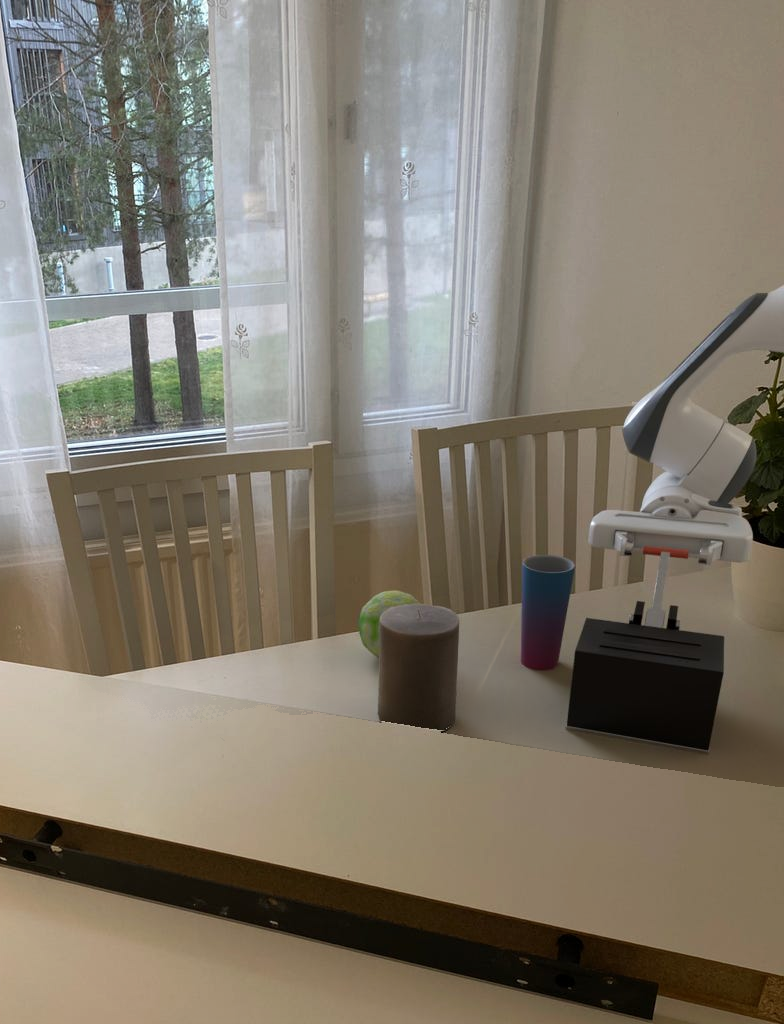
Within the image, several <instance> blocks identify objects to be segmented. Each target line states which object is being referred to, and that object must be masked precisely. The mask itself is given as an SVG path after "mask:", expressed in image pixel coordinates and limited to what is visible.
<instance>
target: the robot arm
mask: <svg viewBox="0 0 784 1024" xmlns="http://www.w3.org/2000/svg"><path fill="white" fill-rule="evenodd" d="M750 351H768V352H775V353H783V354H784V284H783V285H781V286H780V287H778V288H776V289H774V290H771V291H769V292H756V293H754V294H752V295H751V296H749V297H748V298H746V299H745V300H744V301H743V302H741V303H740V304H739V305H737V306H736V307H735V308H734V309H733V310H732V311H731V312H730V313H729V314H728V315H726V317H725V318H724V319H722V320H721V322H720V323H718V325H716V326H715V328H713V330H711V331H710V333H708V335H707V336H706V337H705V338H704V339H703V340H702V341H701V342H700V343H699V344H698V345H697V346H696V347H695V348H694V349H693V350H692V351H691V352H690V353H689V354H688V355H687V356H686V357H684V359H683V360H682V361H681V362H680V363H679V365H678V366H677V367H675V368H674V370H672V371H671V372H670V373H669V374H668V375H667V377H666V378H664V379H663V381H661V382H660V383H659V384H658V385H657V386H656V387H655V388H653V390H651V391H650V392H648V393H647V394H646V395H645V396H643V397H642V398H640V400H639V401H638V402H637V403H636V404H634V406H633V407H632V408H631V410H630V411H629V413H628V414H627V417H626V418H625V420H624V423H623V426H622V428H621V431H622V437H623V440H624V441H623V442H624V444H625V447H626V450H627V451H628V453H629V454H631V455H633V456H635V457H637V458H638V459H639V458H640V459H641V460H644V461H646V462H647V463H652V464H654V465H655V466H657V467H659V468H660V469H662V470H664V472H662V473H661V474H660V475H658V476H657V477H656V478H655V479H654V480H653V481H652V482H651V484H650V485H649V486H648V488H647V490H646V491H645V494H644V496H643V499H642V502H641V503H642V504H641V507H640V509H639V511H632V510H631V511H630V510H620V509H618V510H617V509H604V510H602V511H600V512H599V513H597V514H596V515H594V516H593V517H592V519H591V522H590V525H589V530H588V531H589V532H588V544H589V545H590V546H591V547H592V548H595V549H604V550H605V549H606V550H614V551H617V552H619V554H620V555H619V556H621V557H630V558H631V557H633V553H634V552H635V553H642V554H643V548H644V546H649V547H659V548H669V549H679V550H688V551H689V555H688V558H691V559H698V561H697V564H698V565H705V566H711V564H712V562H715V561H718V562H719V561H721V562H728V563H729V562H730V563H738V564H739V563H746V562H748V561H749V559H750V556H751V551H752V546H753V540H754V535H753V534H754V533H753V530H752V526H751V524H750V523H749V521H748V519H746V518H745V517H743V516H742V515H743V514H742V513H743V512H742V511H743V510H742V507H741V506H739V505H736V504H731V502H732V501H733V500H734V499H735V498H736V497H737V496H738V495H739V493H740V492H741V491H742V489H743V488H744V487H745V485H746V484H747V482H748V481H749V479H750V477H751V475H752V473H753V471H754V469H755V466H756V464H757V445H756V441H755V438H754V437H753V436H752V435H750V434H749V433H747V432H746V431H743V430H742V429H740V428H739V427H737V426H735V425H733V424H731V423H730V422H728V421H727V420H725V419H724V420H723V419H721V418H719V417H718V416H717V415H715V414H713V413H712V412H709V410H708V411H707V410H706V409H704V408H702V407H701V406H699V405H697V404H696V403H694V402H693V401H691V399H690V396H691V395H693V394H694V393H695V391H697V390H698V389H699V388H700V387H701V386H702V385H703V384H704V383H705V381H707V379H709V378H710V377H711V376H712V375H713V374H714V373H715V372H716V371H717V370H718V369H719V368H720V367H721V366H722V365H723V364H724V363H725V362H726V361H728V359H730V358H732V357H733V356H736V355H738V354H740V353H744V352H750Z"/></svg>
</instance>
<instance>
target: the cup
mask: <svg viewBox="0 0 784 1024" xmlns="http://www.w3.org/2000/svg"><path fill="white" fill-rule="evenodd" d="M521 562H522V567H521V624H520V625H521V626H520V628H521V629H520V663H521V665H522V666H524V667H525V668H527V669H530V670H534V671H541V672H544V671H545V672H546V671H551V670H554V669H556V668H557V667H558V665H559V660H560V653H561V649H562V643H563V637H564V631H565V626H566V621H567V615H568V608H569V603H570V597H571V592H572V587H573V582H574V581H573V580H574V574H575V570H576V563H575V562H574V561H573V560H571V559H569V558H567V557H564V556H559V555H552V554H535V555H530V556H528V557H526V558H523V560H522V561H521Z"/></svg>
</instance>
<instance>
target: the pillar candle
mask: <svg viewBox="0 0 784 1024" xmlns="http://www.w3.org/2000/svg"><path fill="white" fill-rule="evenodd" d="M459 639H460V618H459V616H458V615H457V613H456V612H454V611H453V610H452V609H451V608H446V607H444V606H440V605H432V604H425V603H420V604H412V605H411V604H408V605H401V606H396V607H390V608H388V609H387V611H385V612H383V614H382V615H381V616H380V629H379V657H378V695H377V701H378V702H377V715H378V719H379V721H380V720H381V721H385V722H391V723H397V724H404V725H410V726H415V727H421V728H429V729H437V730H446V728H448V727H450V726H451V727H452V726H453V725H454V724H453V723H455V720H456V709H457V707H456V705H457V689H458V688H457V685H458V665H459V664H458V662H459V659H458V658H459V641H460V640H459ZM381 721H380V722H381ZM452 724H453V725H452ZM451 727H450V728H451ZM446 731H447V730H446Z"/></svg>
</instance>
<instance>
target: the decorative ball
mask: <svg viewBox="0 0 784 1024" xmlns="http://www.w3.org/2000/svg"><path fill="white" fill-rule="evenodd" d="M408 604H411V605H412V604H421V603H420V601H418V600H417V598H415V597H414V596H413V595H412V594H410V593H407V592H403V591H400V590H385V591H381V592H380V593H377V594H376V595H374V596H373V597H372V598H371V599H370V600H369V601H367V602H366V604H365V605H363V607H362V608H361V611H360V615H359V621H358V631H359V636H360V639H361V642H362V645H363V647H365V649H366V650H368V651H369V652H370V653H371V654H372V655H373V656H375V657H376V658H379V629H380V616H381V615H382V614H383V612H385V611H387V609H388V608H390V607H396V606H401V605H408Z"/></svg>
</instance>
